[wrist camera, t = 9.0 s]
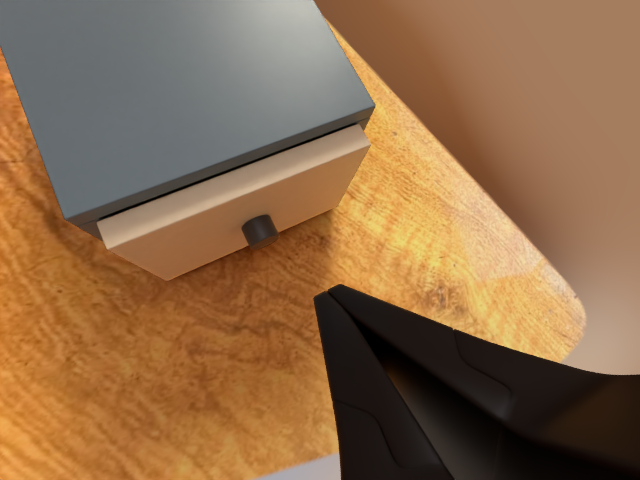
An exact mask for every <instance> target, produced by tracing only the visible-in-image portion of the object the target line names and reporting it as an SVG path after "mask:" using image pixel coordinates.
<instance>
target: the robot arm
mask: <svg viewBox="0 0 640 480" xmlns="http://www.w3.org/2000/svg"><path fill="white" fill-rule="evenodd" d="M313 299H314V305H315V311H316V316H317V321H318V327H319V332H320V338H321V343H322V349H323V354H324V360H325V365H326V370H327V376H328V381H329V387H330V392H331V398H332V402H333V409H334V415H335V421H336V428H337V435H338V442H339V455H340V468H341V480H640V375H609V374H601V373H595V372H590V371H585V370H581V369H577V368H574V367H570V366H567V365H564V364H560V363H557V362H553V361H550V360H547V359H543V358H540V357H536V356H533V355H530V354H526V353H523V352H519V351H516V350H513V349H510V348H507V347H504V346H500V345H497V344H494V343H491V342H488V341H486V340H483V339H480V338H477V337H475V336H472V335H469V334H467V333H464V332H462V331H459V330H457V329H454V330H453V328H451V327H449V326H446V325H444V324H441V323H438V322H436V321H433V320H431V319H428V318H426V317H423V316H421V315H418V314H416V313H413V312H411V311H408V310H405V309H403V308H400V307H398V306H395V305H393V304H390V303H388V302H385V301H383V300H380V299H378V298H375V297H373V296H370V295H367V294H365V293H362V292H360V291H357V290H355V289H352V288H350V287H347V286H345V285H342V284H338V285H336V286H334V287H332V288H330V289H329V290H328V291H327V292H326V291H324V292H322V293H320V294H318V295H316V296H315V297H314V298H313Z"/></svg>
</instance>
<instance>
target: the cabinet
mask: <svg viewBox="0 0 640 480" xmlns="http://www.w3.org/2000/svg"><path fill="white" fill-rule="evenodd" d="M0 47H1V50H2V53H3V55H4V58H5V61H6V63H7V66H8V69H9V71H10V74H11V77H12V80H13V82H14V85H15V88H16V90H17V93H18V96H19V98H20V101H21V104H22V106H23V109H24V112H25V114H26V117H27V120H28V123H29V125H30V128H31V131H32V133H33V136H34V139H35V141H36V144H37V147H38V149H39V152H40V155H41V157H42V160H43V163H44V166H45V168H46V171H47V174H48V176H49V179H50V182H51V184H52V187H53V190H54V192H55V195H56V198H57V200H58V203H59V206H60V209H61V211H62V214H63V217H64V219H65V220H66V221H68V222H70V223H72V224H73V225H75V226H77V227H79V228H80V229H82V230H84V231H86V232H87V233H89V234H91V235H93V236H94V237H96V238H98V239H100V240H101V241H103V239H102V236H101V234H100V231H99V229H98V226H97V222H98V221H100V220H103V219H105V218H108V217H111V216H113V215H116V214H119V213H121V212H124V211H127V210H129V209H130V208H129V206H132V205H135V204H137V203H140V202H143V201H145V200H148V199H151V198H153V197H156V196H159V195H161V194H164V193H167V192H170V191H172V190H175V189H178V188H180V187H183V186H186V185H188V184H191V183H194V182H196V181H199V180H202V179H204V178H207V177H210V176H212V175H215V174H218V173H220V172H223V171H226V170H228V169H231V168H234V167H236V166H239V165H242V164H245V163H247V162H250V161H253V160H255V159H258V158H261V157H263V156H266V155H269V154H271V153H274V152H277V151H279V150H282V149H285V148H287V147H290V146H293V145H295V144H298V143H301V142H303V141H306V140H309V139H311V138H314V137H317V136H319V135H322V134H323V137H324V136H327V135H329V134H332V133H335V132H337V131H340V130H343V129H345V128H348V127H351V126H353V125H356V124H360V126H361V128H362V129H363V131H364V130H365V127H366V125H367V123H368V121H369V119H370V116H371V115H372V113H373V111H374V108H375V103H374V102H373V100H372V98H371V97H370V95H369V93H368V92H367V90H366V88H365V86H364V85H363V83H362V81H361V80H360V78H359V76H358V75H357V73H356V71H355V70H354V68H353V66H352V64H351V63H350V61H349V59H348V58H347V56H346V54H345V53H344V51H343V49H342V47H341V46H340V44H339V42H338V41H337V39H336V37H335V36H334V34H333V32H332V31H331V29H330V27H329V25H328V24H327V22H326V20H325V19H324V17H323V15H322V14H321V12H320V10H319V8H318V7H317V5H316V3H315V2H314V0H0ZM103 242H104V241H103Z"/></svg>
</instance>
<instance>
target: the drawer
mask: <svg viewBox="0 0 640 480" xmlns="http://www.w3.org/2000/svg"><path fill="white" fill-rule="evenodd" d="M370 146H371V143H370V142H369V140H368V138H367V136H366V135H365V133H364V131H363V129H362V128H361V126H360V124H356V125H353V126H351V127H348V128H345V129H343V130H340V131H337V132H335V133H332V134H329V135H327V136H324V137H323V134H322V135H319V136H317V137H314V138H311V139H309V140H306V141H303V142H301V143H298V144H295V145H293V146H290V147H287V148H285V149H282V150H279V151H277V152H274V153H271V154H269V155H266V156H263V157H261V158H258V159H255V160H253V161H250V162H247V163H245V164H242V165H239V166H236V167H234V168H231V169H228V170H226V171H223V172H220V173H218V174H215V175H212V176H210V177H207V178H204V179H202V180H199V181H196V182H194V183H191V184H188V185H186V186H183V187H180V188H178V189H175V190H172V191H170V192H167V193H164V194H161V195H159V196H156V197H153V198H151V199H148V200H145V201H143V202H140V203H137V204H135V205H132V206H129V208H130V209H129V210H127V211H124V212H121V213H119V214H116V215H113V216H111V217H108V218H105V219H103V220H100V221H98V222H97V226H98V229H99V231H100V234H101V236H102V239H103V241H104V244H105V247H106V249H107V250H109V251H111V252H112V253H114V254H116V255H118V256H120V257H122V258H124V259H126V260H127V261H129V262H131V263H133V264H135V265H137V266H139V267H141V268H142V269H144V270H146V271H148V272H150V273H152V274H154V275H156V276H158V277H159V278H161V279H163V280H165V281H168V280H171V279H173V278H175V277H178V276H180V275H182V274H184V273H187V272H189V271H191V270H194V269H196V268H198V267H200V266H203V265H205V264H207V263H210V262H212V261H214V260H216V259H219V258H221V257H223V256H226V255H228V254H230V253H232V252H235V251H237V250H239V249H242V248H244V247H246V246H248V245H249V247H250V249H251V250H256V249H260V248H263V247H265V246H268V245H270V244H271V243H273V242H275V241H276V240H277V239H278V238H279V233H278V232H280V231H283V230H285V229H287V228H290V227H292V226H294V225H297V224H299V223H301V222H303V221H306V220H308V219H310V218H313V217H315V216H317V215H319V214H322V213H324V212H326V211H329V210H331V209H333V208H335V207H337V206H338V204H339V202H340V201H341V199H342V197H343V195H344V193H345V191H346V190H347V188H348V186H349V184H350V182H351V181H352V179H353V177H354V175H355V173H356V171H357V170H358V168H359V166H360V164H361V162H362V160H363V159H364V157H365V155H366V153H367V151H368V149H369V148H370Z"/></svg>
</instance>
